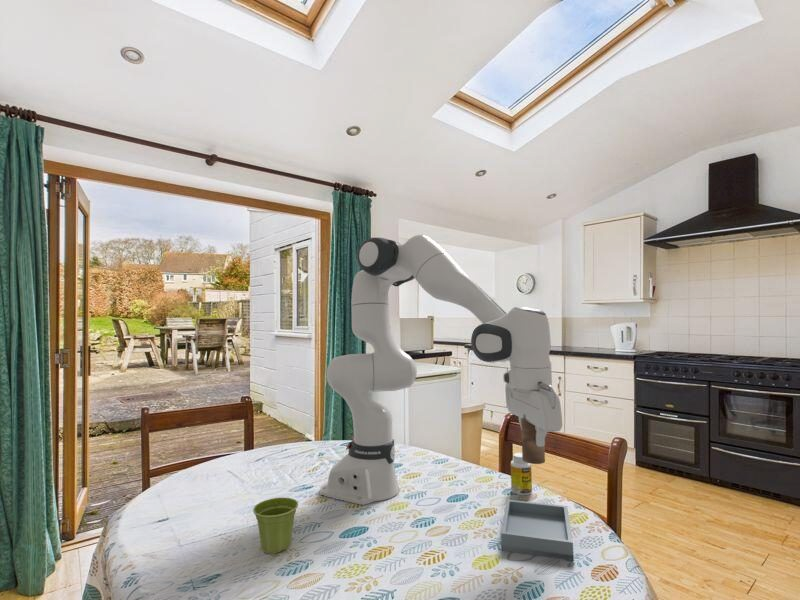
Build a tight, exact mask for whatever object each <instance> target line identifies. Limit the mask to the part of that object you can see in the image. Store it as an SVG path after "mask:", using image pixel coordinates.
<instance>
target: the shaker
mask: <svg viewBox="0 0 800 600" xmlns="http://www.w3.org/2000/svg"><path fill="white" fill-rule="evenodd" d="M521 423H522V429H521V451H522V452H521V453H522V460H523V461H524V462H527V463H531V465H541V464H544V463H545V462H546V453H545V451H546V450H545V448H546V446H545V445H546V444H545V445H544V446H542V447H538V446H537V445H535V444H534V437H536V432H537V431H536V430H535V425H533V424H531V423H529V422H528V421H527V420H526V415H525V414H523V418H522V419H521Z"/></svg>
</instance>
